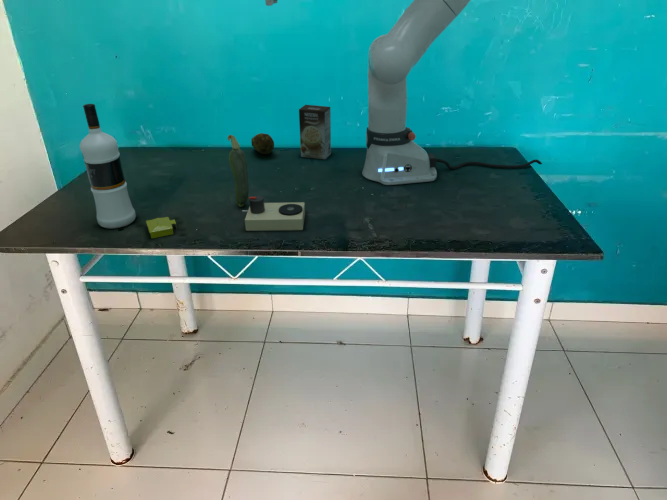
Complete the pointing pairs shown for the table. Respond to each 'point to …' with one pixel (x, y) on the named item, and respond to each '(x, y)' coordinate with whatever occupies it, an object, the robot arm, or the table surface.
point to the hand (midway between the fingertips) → (272, 4)
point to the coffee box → (315, 131)
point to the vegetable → (239, 171)
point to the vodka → (105, 175)
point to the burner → (290, 209)
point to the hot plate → (274, 218)
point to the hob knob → (257, 204)
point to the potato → (263, 143)
